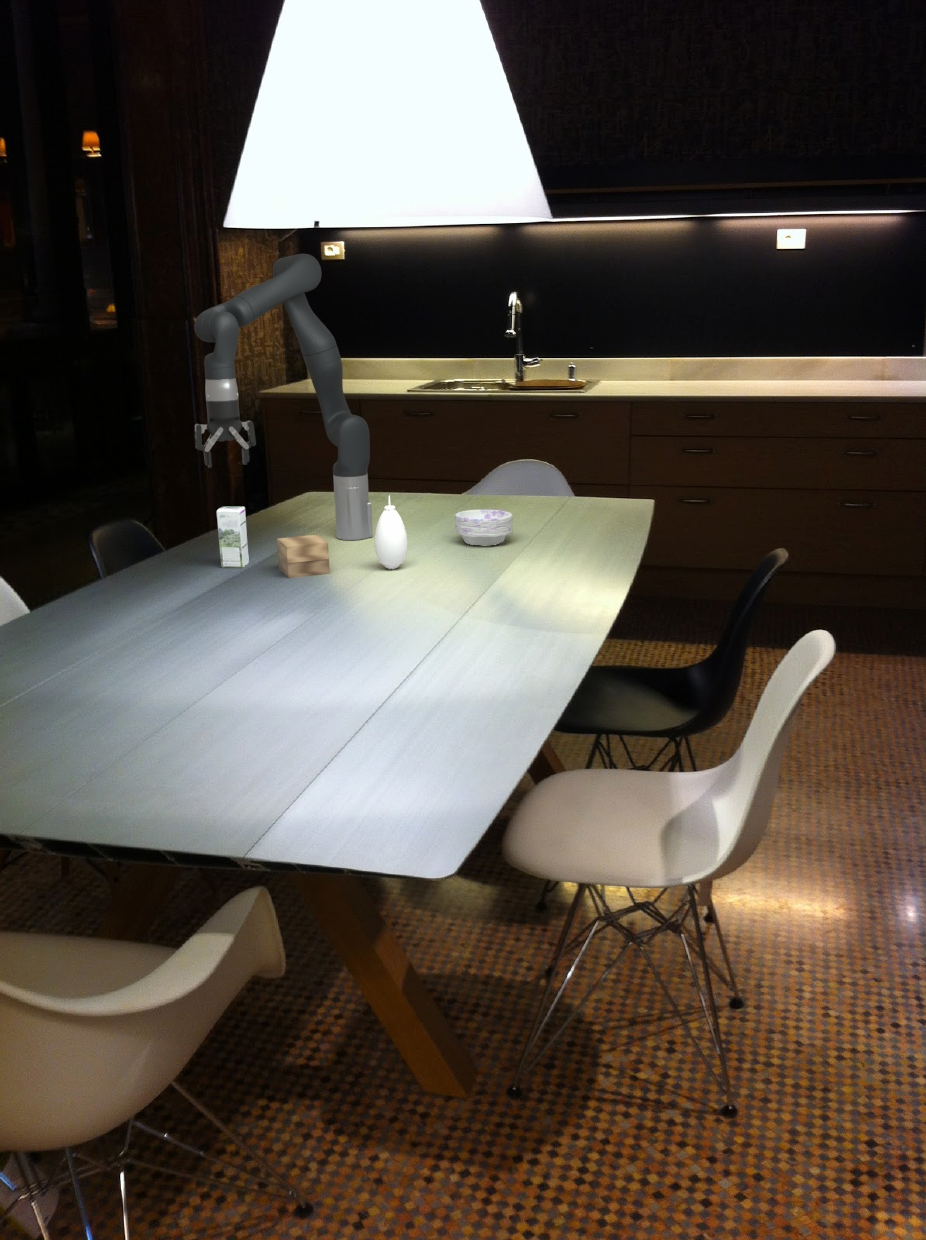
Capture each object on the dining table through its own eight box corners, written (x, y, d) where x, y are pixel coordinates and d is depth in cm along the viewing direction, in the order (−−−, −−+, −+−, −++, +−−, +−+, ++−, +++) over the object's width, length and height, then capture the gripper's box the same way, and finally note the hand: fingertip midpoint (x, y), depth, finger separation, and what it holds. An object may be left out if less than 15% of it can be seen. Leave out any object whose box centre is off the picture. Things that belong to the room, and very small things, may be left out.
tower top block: (318, 550, 286) (317, 534, 285) (328, 558, 277) (327, 542, 276) (278, 554, 282) (277, 538, 281) (287, 563, 273) (286, 546, 272)
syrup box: (249, 562, 291) (245, 505, 287) (243, 568, 285) (238, 510, 281) (227, 562, 291) (222, 505, 287) (220, 568, 286) (215, 510, 282)
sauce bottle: (403, 572, 277) (401, 498, 272) (372, 572, 279) (368, 497, 273) (411, 565, 284) (409, 492, 279) (380, 564, 286) (377, 492, 281)
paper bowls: (514, 536, 313) (514, 507, 311) (511, 549, 299) (510, 519, 296) (458, 536, 315) (457, 507, 312) (452, 549, 300) (451, 519, 298)
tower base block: (319, 566, 287) (318, 550, 286) (329, 574, 278) (329, 558, 277) (279, 570, 284) (278, 554, 282) (288, 579, 275) (287, 563, 274)
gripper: (248, 395, 283) (253, 461, 287) (189, 398, 278) (195, 466, 282) (255, 397, 276) (259, 465, 280) (194, 401, 271) (200, 470, 275)
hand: (227, 465), depth 281 cm, fingers open, 8 cm apart
